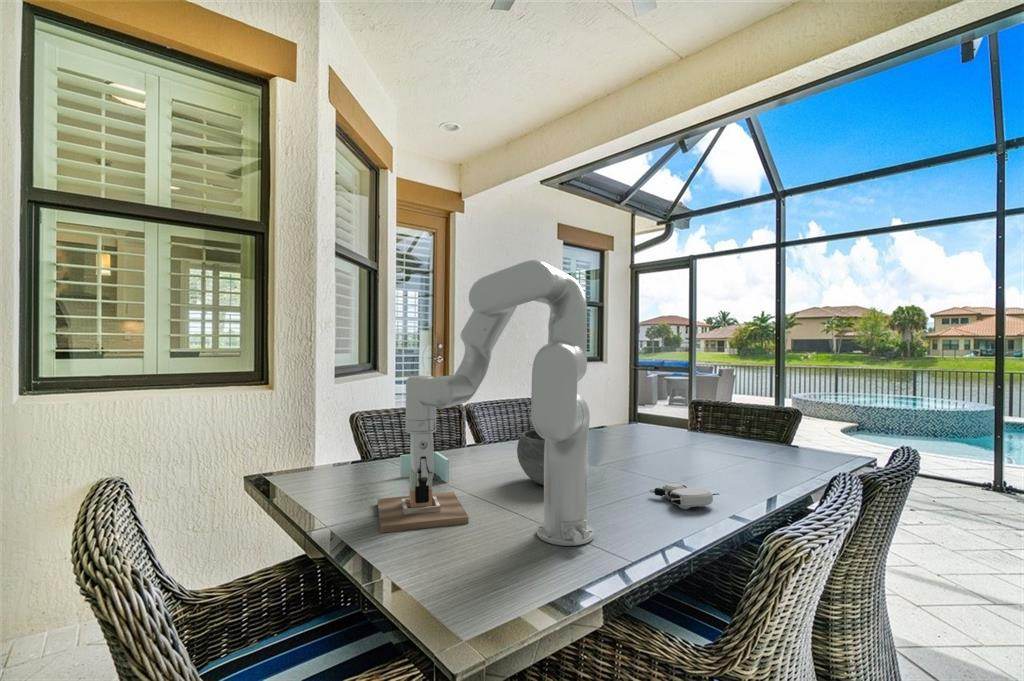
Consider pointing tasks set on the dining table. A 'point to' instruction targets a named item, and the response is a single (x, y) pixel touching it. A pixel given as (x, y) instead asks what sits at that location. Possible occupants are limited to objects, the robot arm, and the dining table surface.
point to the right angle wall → (439, 466)
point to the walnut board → (420, 513)
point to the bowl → (532, 455)
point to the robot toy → (685, 495)
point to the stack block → (412, 490)
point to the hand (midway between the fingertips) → (420, 498)
